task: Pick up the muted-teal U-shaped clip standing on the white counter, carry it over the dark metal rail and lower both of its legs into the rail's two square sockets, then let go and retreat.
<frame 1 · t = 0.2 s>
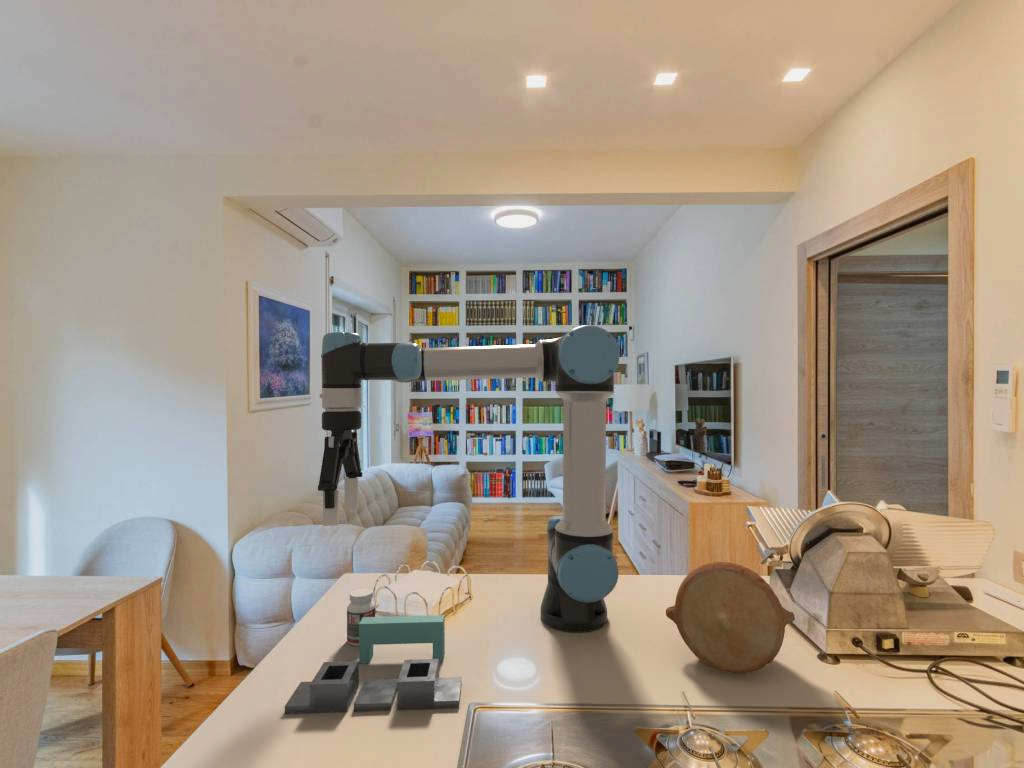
hand: (342, 516, 102), 27 cm above the counter, fingers open, 13 cm apart
clip: (402, 658, 100), on the counter
pill bottle: (361, 641, 107), on the counter
rail: (377, 698, 86), on the counter
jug: (731, 649, 102), on the counter
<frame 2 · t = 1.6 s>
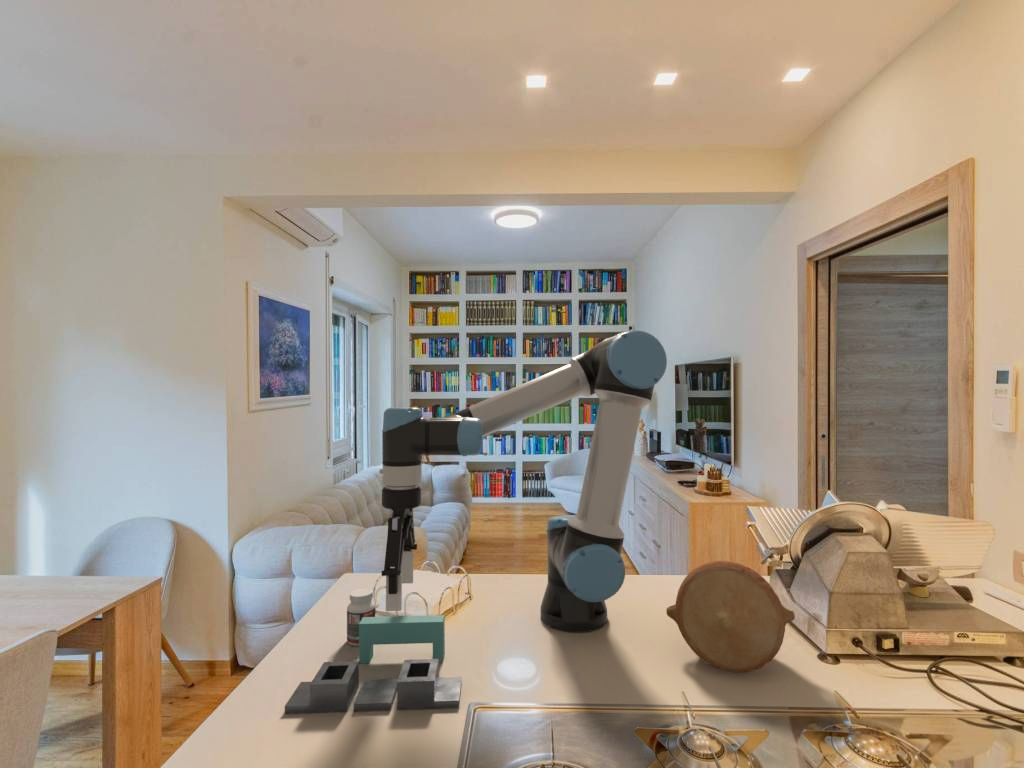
hand: (400, 595, 100), 12 cm above the counter, fingers open, 13 cm apart
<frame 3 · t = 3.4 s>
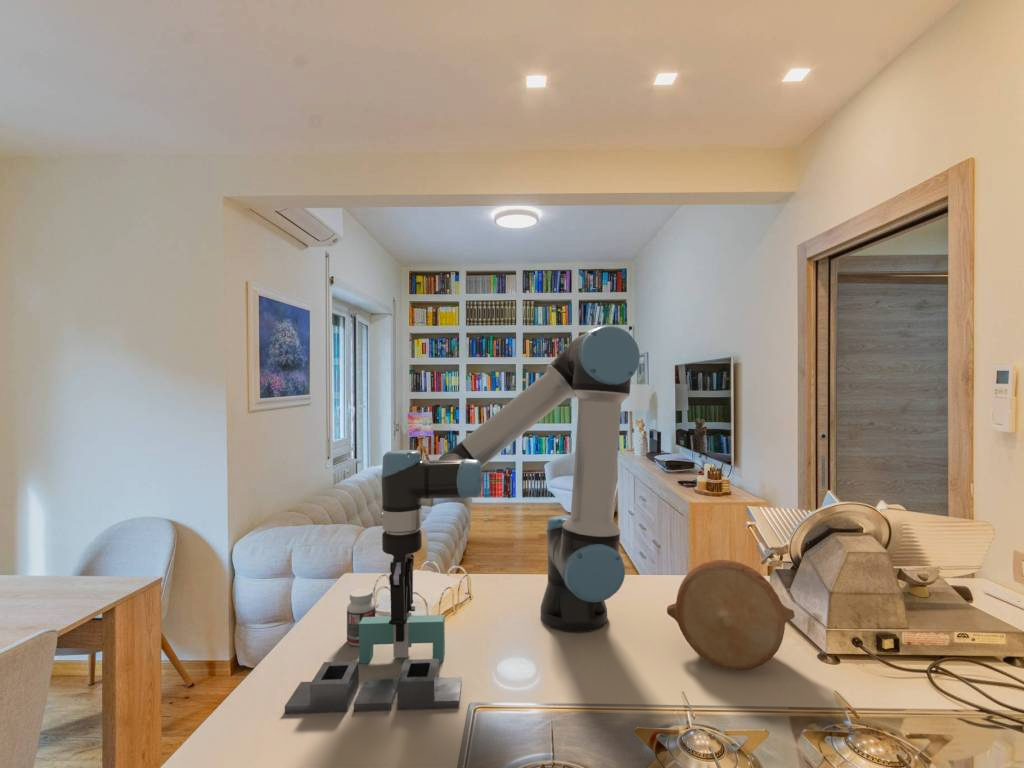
hand: (402, 651, 100), 1 cm above the counter, fingers closed on clip, 3 cm apart
clip: (402, 658, 100), on the counter, touching gripper
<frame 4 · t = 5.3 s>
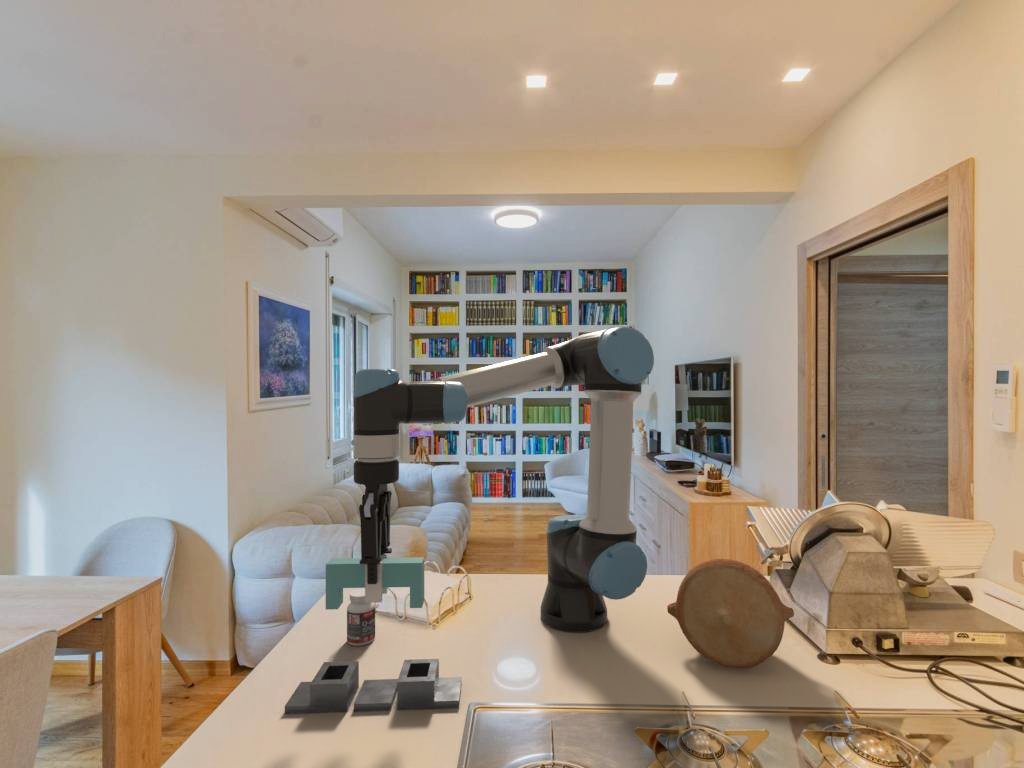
hand: (376, 597, 87), 17 cm above the counter, fingers closed on clip, 3 cm apart
clip: (375, 605, 87), point 15 cm above the counter, touching gripper
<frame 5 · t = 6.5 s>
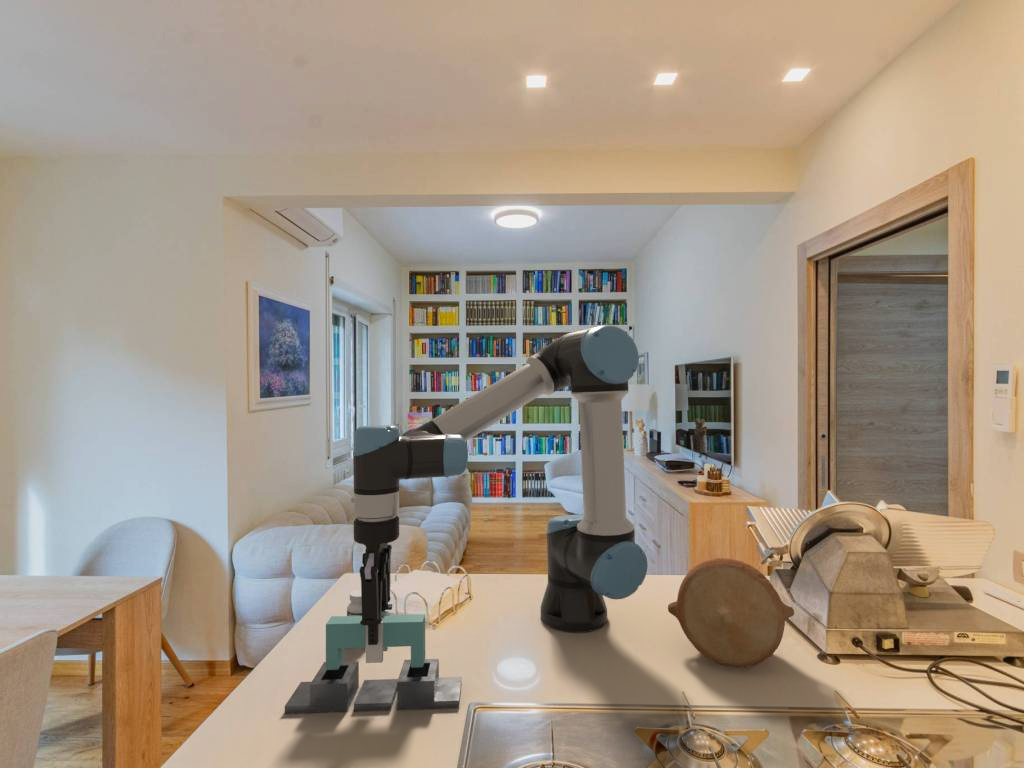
hand: (377, 655, 87), 7 cm above the counter, fingers closed on clip, 3 cm apart
clip: (376, 663, 87), point 6 cm above the counter, touching gripper
when the fingers open (4 cm above the counter, at t = 7.4 s): clip drops 1 cm, resting on rail.
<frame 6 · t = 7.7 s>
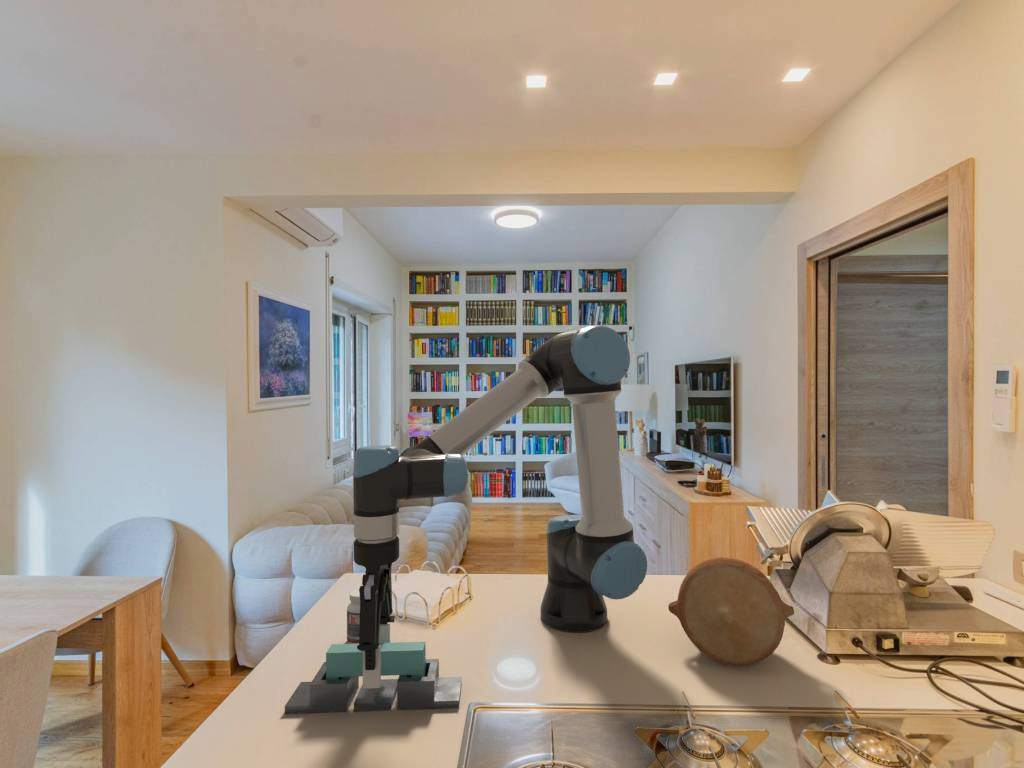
hand: (377, 673, 87), 4 cm above the counter, fingers open, 7 cm apart
clip: (376, 692, 86), point 1 cm above the counter, touching rail
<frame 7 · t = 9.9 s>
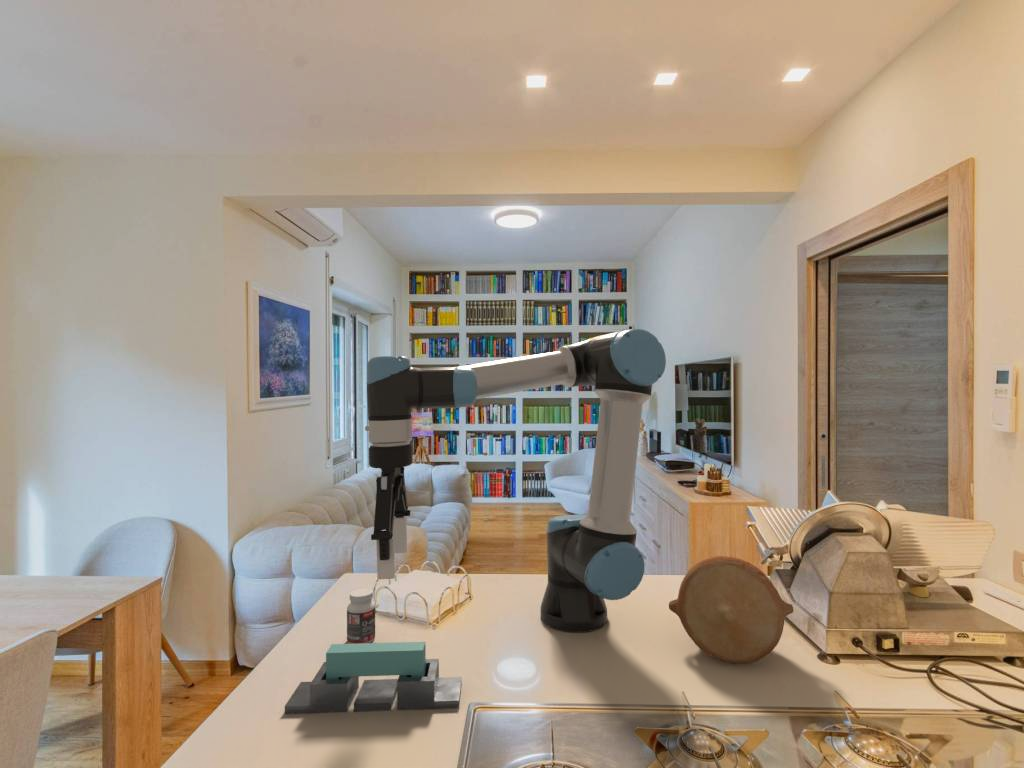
hand: (393, 564, 90), 21 cm above the counter, fingers open, 13 cm apart
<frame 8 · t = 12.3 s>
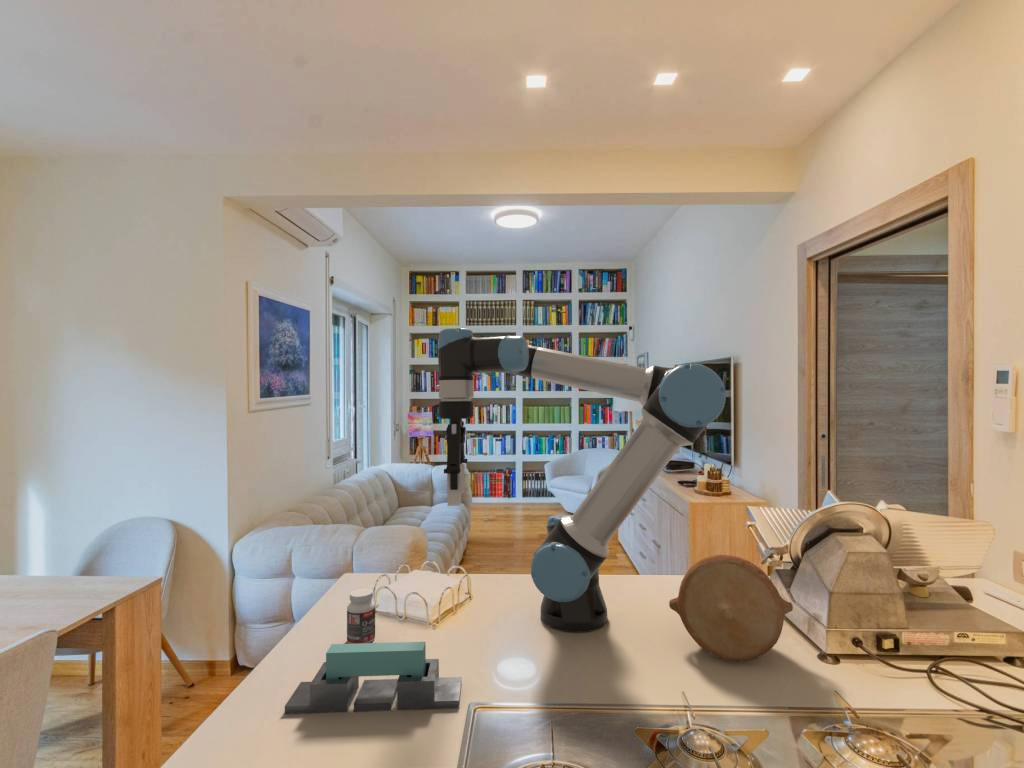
hand: (456, 498, 111), 29 cm above the counter, fingers open, 13 cm apart
at the end: clip 0.1 cm off-centre on the rail, point 1.0 cm above the rail's base; clip tilted 0°; the gripper is holding nothing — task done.
